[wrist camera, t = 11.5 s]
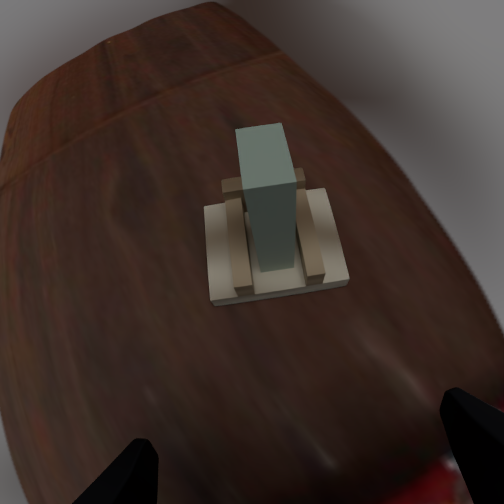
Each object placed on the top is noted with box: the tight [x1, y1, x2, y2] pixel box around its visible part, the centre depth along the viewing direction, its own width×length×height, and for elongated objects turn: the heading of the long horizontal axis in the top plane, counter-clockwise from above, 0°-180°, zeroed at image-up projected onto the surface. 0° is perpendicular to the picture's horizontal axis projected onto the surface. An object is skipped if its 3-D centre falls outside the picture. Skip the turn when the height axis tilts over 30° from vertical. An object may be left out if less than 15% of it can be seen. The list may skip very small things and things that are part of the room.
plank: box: [235, 123, 297, 273], centre depth 19 cm, size 4×2×10 cm, turn 7°
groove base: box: [204, 168, 349, 306], centre depth 23 cm, size 8×10×4 cm
